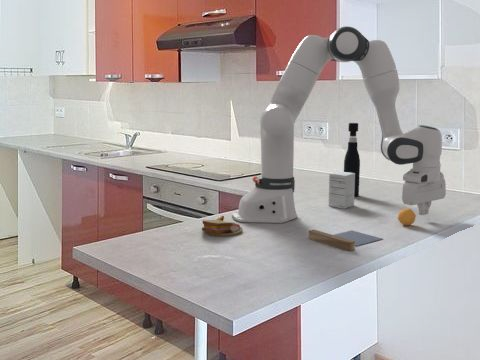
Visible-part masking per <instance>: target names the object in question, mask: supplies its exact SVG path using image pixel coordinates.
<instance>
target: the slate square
mask: <svg viewBox="0 0 480 360" xmlns="http://www.w3.org/2000/svg"><path fill="white" fill-rule="evenodd" d="M333 235H335V236H338V237H342V238H345V239H349V240H352V241H355V247H359V246H363V245H367V244H370V243H374V242H377V241H378V242H379V241H381V240H383V238H381V237H378V236H375V235H371V234H368V233H367V234H366V233H363V232H359V231H355V230H348V231H343V232H339V233H335V234H333Z"/></svg>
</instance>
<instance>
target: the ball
mask: <svg viewBox="0 0 480 360" xmlns="http://www.w3.org/2000/svg"><path fill="white" fill-rule="evenodd" d="M397 219H398V221H399V223H400V224H401V225H403V226H411V225H413V224H414V223H415V221H416V214H415V211H414V210H412V209H410V208H403V209H401V210H400V211H399V213H398V216H397Z"/></svg>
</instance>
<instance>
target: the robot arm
mask: <svg viewBox="0 0 480 360" xmlns="http://www.w3.org/2000/svg"><path fill="white" fill-rule="evenodd" d="M329 61H332V62H333V61H334V62H338V63H349V62H354V63H355V64H356V65H358V68H359V69H360V73H361V76H362V81H363V84H364V87H365V89H366V92H367V95H368V97H369V98H370V100H371V102H372V104H373V105H374V108H375V110H376V115H377V117H378V121H379V125H380V130H381V141H380V151H381V154H382V156H383V157H384V158H385V159H386V160H387V161H389V162H392V163H394V164H395V165H400V166H402V165H409V164H412V168H410V169H409V171H407V172H406V173H404V174H403V175H402V181H404V182H403V185H402V190H401V191H402V195H401V199H402V200H401V201H402V202H403V204H404V205H407V206H415V205H416V206H417V208H418V214H419V216H425V215H426V216H427V215H428V214H429V210H430V207H431V206H432V202H433V201H439V200H442V199H443V200H444V199H445V197H446V195H447V194H446V193H447V188H446V187H447V186H446V185H447V184H446V179H445V175H444V173H443V172H442V171H441V166H442V165H441V161H440V160H441V155H442V152H443V151H442V148H443V142H442V140H443V138H442V132H441V131H440V129H438V128H437V127H433V126H428V125H421V124H420V125H418V126H416V127H415V128H413V129H412V130H410V131H408V132H405V133H403V131H402V129H401V125H400V122H399V121H400V120H399V117H398V113H397V109H396V100H397V97H398V94H399V93H400V79H399V73H398V70H397V67H396V63H395V60H394V57H393V55H392V52H391V51H390V48H389V46H388V45H387V43H386V42H385V41H383V40H380V39H372V40H369V39H367V37H366V36H364V35H363V34H362V33H361V31H359V30H358V29H357V28H355V27H353V26H342V27H339V28H337V29H336V30H335V31H333V32H332V33H331V34H330V35H329V36H327V37H322V36H320V35H317V34H309V35H307V36H305V37H304V38H303V39H302V40H301V42H300V43H299V44H298V46H297V47H296V48H295V51H294V53H293V54H292V55H291V57H290V59H289V62H288V63H287V65H286V67H285V70H284V72H283V74H282V75H281V78H280V80H279V81H278V83H277V86H276V88H275V90H274V92H273V93H272V96H271V97H270V100H269V102H268V105H267V106H266V108H265V109H264V110H263V112H262V113H261V116H260V121H259V122H260V123H259V124H260V152H261V154H260V155H261V158H260V160H261V161H260V163H261V165H260V167H261V169H260V176H257V175H254V176H253V177H252V181H253V183H255V184H254V186H255V187H253V188H252V189H251V190H250V191H249V192H247V193H246V194H245V195H243V196H242V197H241V199H240V200H239V204H238V209H237V210H234V211H232V213H231V214H232V216H231V217H232V218H233V219H234V220H235V221H237V222H240V223H271V224H272V223H273V224H274V223H276V224H278V223H280V224H283V223H286V222H288V221H291V220H295V219H296V218H298V215H297V211H296V206H295V205H296V204H295V199H294V198H295V197H294V192H295V187H296V185H295V183H296V182H295V177H294V158H295V157H294V150H295V149H294V143H295V142H294V141H295V131H294V130H295V123H296V121H297V119H298V117H299V115H300V113H301V111H302V110H303V107H304V105H305V103H307V100H308V99H309V96H310V94H311V92H312V91H313V89H314V87H315V85H316V84H317V81H318V80H319V77H320V75H321V73H322V71H323V70H324V67H325V66H326V64H327V63H328V62H329Z"/></svg>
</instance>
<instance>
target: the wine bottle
mask: <svg viewBox="0 0 480 360" xmlns="http://www.w3.org/2000/svg"><path fill="white" fill-rule="evenodd" d="M347 131H348V132H349V138H348V142H347V150H346V153H345V156H344V160H343V172H350V173H355V191H354V198H358V197H359V196H360V175H361V174H360V173H361V172H360V170H361V169H360V168H361V160H360V154H359V150H358V138H357V132H359V123H357V122H349V123H348V130H347Z"/></svg>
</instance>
